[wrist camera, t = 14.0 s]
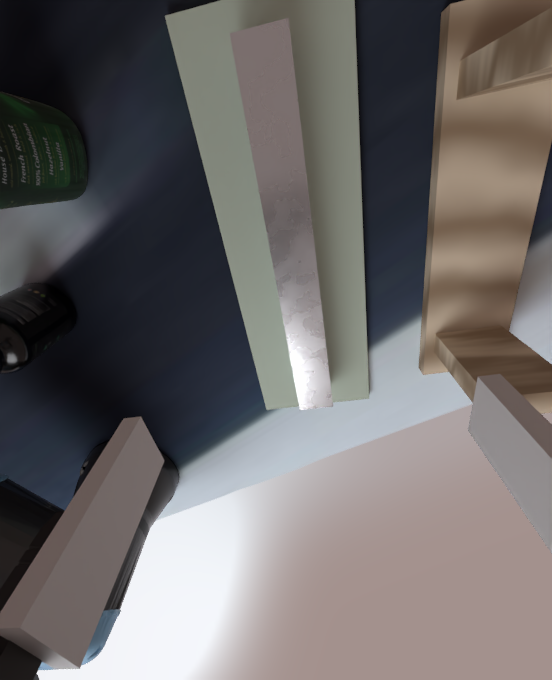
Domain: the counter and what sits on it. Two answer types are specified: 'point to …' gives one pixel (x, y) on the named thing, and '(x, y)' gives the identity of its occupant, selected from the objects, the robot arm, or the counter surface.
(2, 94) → the coffee jar
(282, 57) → the steel rail
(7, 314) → the supplement bottle
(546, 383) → the rail rack
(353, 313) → the sage mat
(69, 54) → the counter surface
